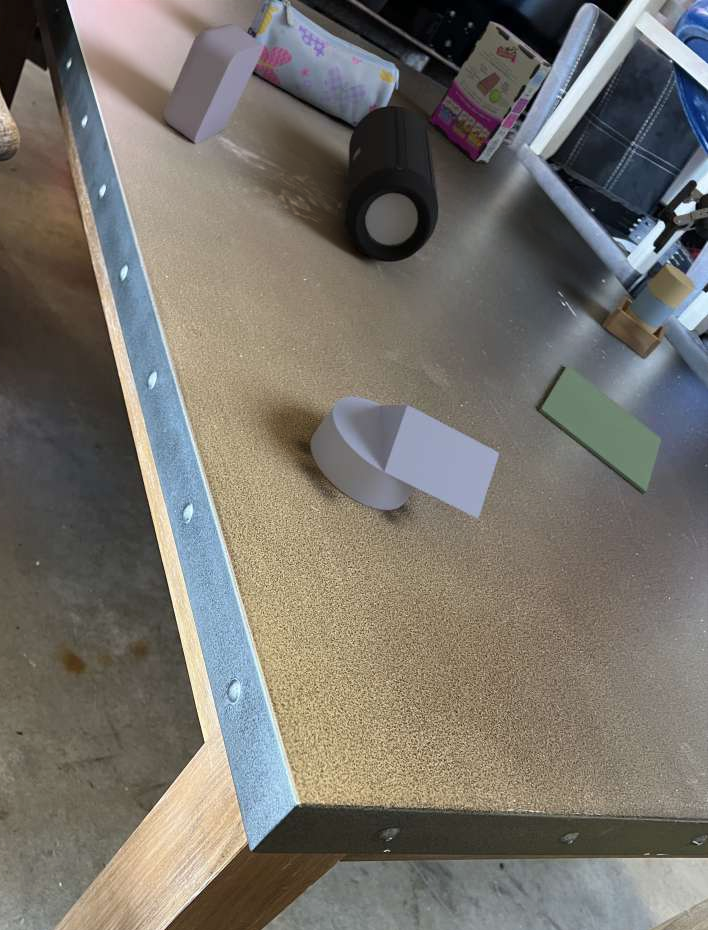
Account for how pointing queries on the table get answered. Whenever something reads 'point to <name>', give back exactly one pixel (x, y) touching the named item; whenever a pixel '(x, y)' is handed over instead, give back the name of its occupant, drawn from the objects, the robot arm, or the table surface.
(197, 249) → the table surface
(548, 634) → the table surface
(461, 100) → the popsicle box
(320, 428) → the wedge on round base
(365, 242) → the portable speaker
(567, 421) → the mat
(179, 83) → the mauve upright block
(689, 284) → the tape stack
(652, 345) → the holder
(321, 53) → the pencil case
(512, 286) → the table surface
